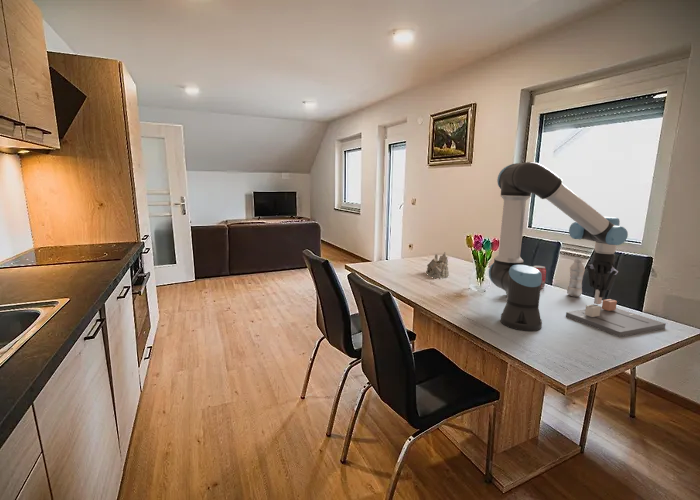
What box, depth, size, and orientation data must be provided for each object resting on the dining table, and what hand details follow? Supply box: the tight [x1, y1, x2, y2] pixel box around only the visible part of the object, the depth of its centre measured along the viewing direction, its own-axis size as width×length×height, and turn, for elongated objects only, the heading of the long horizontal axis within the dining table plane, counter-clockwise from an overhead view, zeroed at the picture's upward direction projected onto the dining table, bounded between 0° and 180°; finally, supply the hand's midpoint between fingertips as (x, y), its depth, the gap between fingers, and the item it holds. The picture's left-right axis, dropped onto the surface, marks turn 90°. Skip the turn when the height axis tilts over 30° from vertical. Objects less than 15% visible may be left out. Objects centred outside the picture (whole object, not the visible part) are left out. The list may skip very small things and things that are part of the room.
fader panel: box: [565, 306, 666, 338], centre depth 142 cm, size 26×22×2 cm
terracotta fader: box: [601, 298, 618, 311], centre depth 150 cm, size 4×3×4 cm
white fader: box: [585, 303, 602, 317], centre depth 143 cm, size 4×3×4 cm
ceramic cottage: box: [425, 252, 450, 280], centre depth 217 cm, size 16×16×15 cm
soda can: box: [533, 265, 547, 290], centre depth 191 cm, size 7×7×12 cm
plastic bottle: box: [566, 256, 586, 298], centre depth 175 cm, size 6×7×20 cm
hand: (597, 303), depth 155 cm, fingers closed
